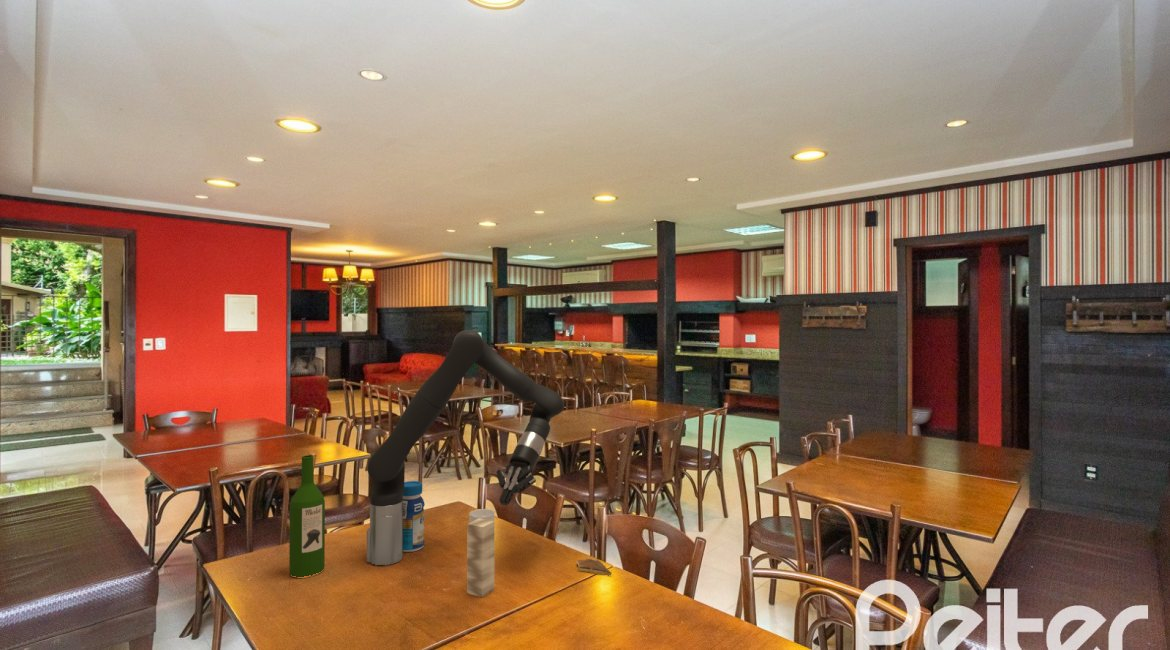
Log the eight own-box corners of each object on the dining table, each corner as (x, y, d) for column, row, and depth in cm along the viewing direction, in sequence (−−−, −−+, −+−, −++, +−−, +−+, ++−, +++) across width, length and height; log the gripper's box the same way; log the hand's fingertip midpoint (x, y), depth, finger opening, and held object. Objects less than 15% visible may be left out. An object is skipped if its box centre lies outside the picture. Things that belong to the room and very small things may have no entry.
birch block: (466, 593, 149) (467, 524, 149) (479, 585, 154) (479, 518, 154) (482, 597, 147) (482, 527, 147) (494, 589, 151) (494, 521, 151)
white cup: (497, 540, 186) (497, 509, 186) (490, 549, 178) (490, 517, 178) (473, 539, 187) (473, 508, 187) (465, 548, 179) (466, 516, 179)
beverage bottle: (395, 544, 181) (395, 481, 181) (422, 540, 185) (422, 478, 185) (398, 554, 174) (398, 488, 174) (427, 550, 177) (427, 485, 177)
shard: (611, 578, 159) (611, 571, 159) (586, 582, 157) (586, 576, 157) (597, 563, 170) (597, 557, 170) (572, 566, 167) (572, 560, 167)
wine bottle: (299, 581, 155) (299, 461, 155) (283, 572, 161) (283, 456, 161) (330, 570, 162) (331, 455, 162) (314, 562, 168) (314, 451, 168)
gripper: (504, 441, 170) (478, 493, 160) (542, 445, 164) (517, 500, 153) (514, 455, 175) (489, 507, 164) (551, 460, 169) (528, 514, 158)
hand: (503, 503), depth 159 cm, fingers closed
